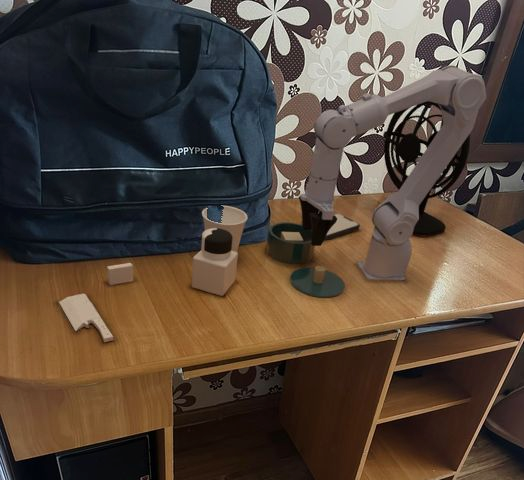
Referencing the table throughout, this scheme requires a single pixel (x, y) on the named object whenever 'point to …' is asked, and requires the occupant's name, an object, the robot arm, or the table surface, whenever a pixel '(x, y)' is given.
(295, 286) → the lid
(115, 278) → the eraser
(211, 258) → the medicine bottle
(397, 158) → the desk fan
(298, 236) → the block
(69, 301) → the butcher knife
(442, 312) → the table surface
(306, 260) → the canister
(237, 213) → the cup
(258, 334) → the table surface
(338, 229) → the phone case
